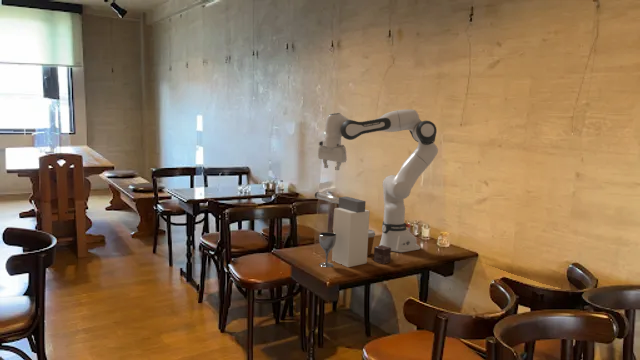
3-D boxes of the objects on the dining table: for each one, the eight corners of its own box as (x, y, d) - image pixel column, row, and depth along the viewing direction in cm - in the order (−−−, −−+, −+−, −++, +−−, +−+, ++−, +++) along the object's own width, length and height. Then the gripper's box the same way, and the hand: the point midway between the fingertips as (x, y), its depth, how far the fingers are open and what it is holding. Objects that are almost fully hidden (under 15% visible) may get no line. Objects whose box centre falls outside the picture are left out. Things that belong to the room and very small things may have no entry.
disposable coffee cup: (377, 255, 255) (379, 232, 253) (362, 257, 250) (363, 234, 249) (367, 250, 263) (368, 228, 262) (352, 252, 259) (353, 229, 257)
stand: (330, 259, 244) (333, 197, 239) (348, 256, 251) (352, 195, 247) (348, 267, 234) (352, 202, 229) (367, 263, 241) (370, 200, 236)
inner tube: (314, 198, 259) (314, 192, 258) (319, 197, 261) (319, 191, 260) (343, 206, 241) (343, 199, 240) (348, 205, 243) (348, 199, 242)
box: (390, 262, 245) (391, 247, 244) (382, 264, 241) (383, 249, 240) (380, 259, 249) (381, 244, 248) (373, 261, 245) (374, 246, 244)
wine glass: (328, 261, 242) (329, 231, 239) (338, 265, 235) (339, 235, 233) (314, 263, 237) (316, 233, 235) (324, 268, 231) (326, 237, 228)
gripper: (350, 145, 261) (348, 171, 263) (325, 141, 276) (324, 166, 278) (340, 145, 257) (339, 171, 259) (316, 142, 273) (315, 167, 275)
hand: (331, 169), depth 269 cm, fingers open, 8 cm apart
